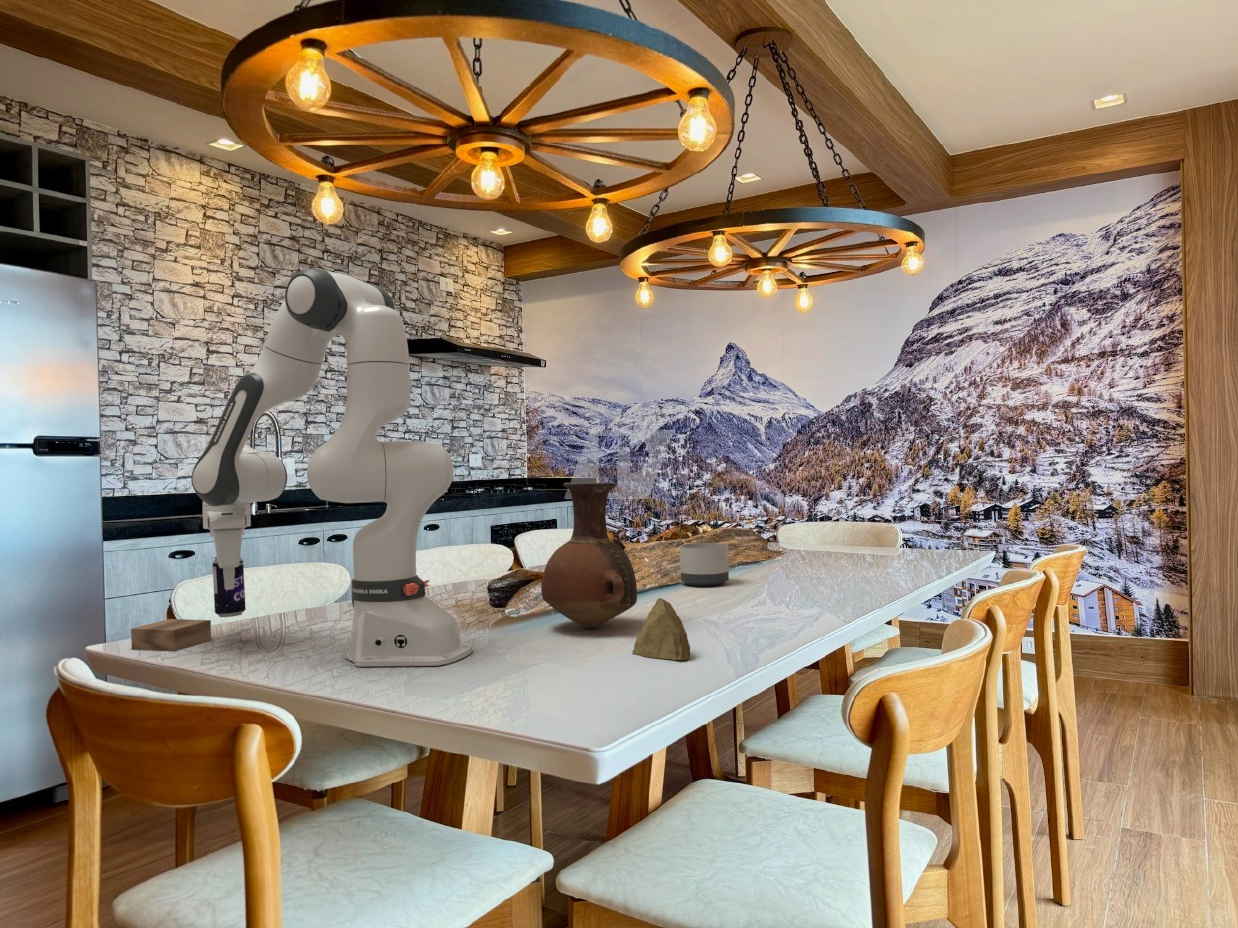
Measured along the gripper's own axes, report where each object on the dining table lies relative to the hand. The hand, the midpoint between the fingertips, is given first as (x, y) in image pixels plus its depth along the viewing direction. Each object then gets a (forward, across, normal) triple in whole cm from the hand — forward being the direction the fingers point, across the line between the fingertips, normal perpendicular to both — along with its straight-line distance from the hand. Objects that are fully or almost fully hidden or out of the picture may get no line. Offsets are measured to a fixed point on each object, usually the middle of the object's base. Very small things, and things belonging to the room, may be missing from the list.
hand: (229, 587), depth 176 cm
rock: (+13, +58, +68) cm, 90 cm away
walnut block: (+11, -2, -11) cm, 15 cm away
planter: (+11, -10, +116) cm, 117 cm away
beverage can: (+6, 0, 0) cm, 6 cm away
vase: (+12, +27, +67) cm, 74 cm away
